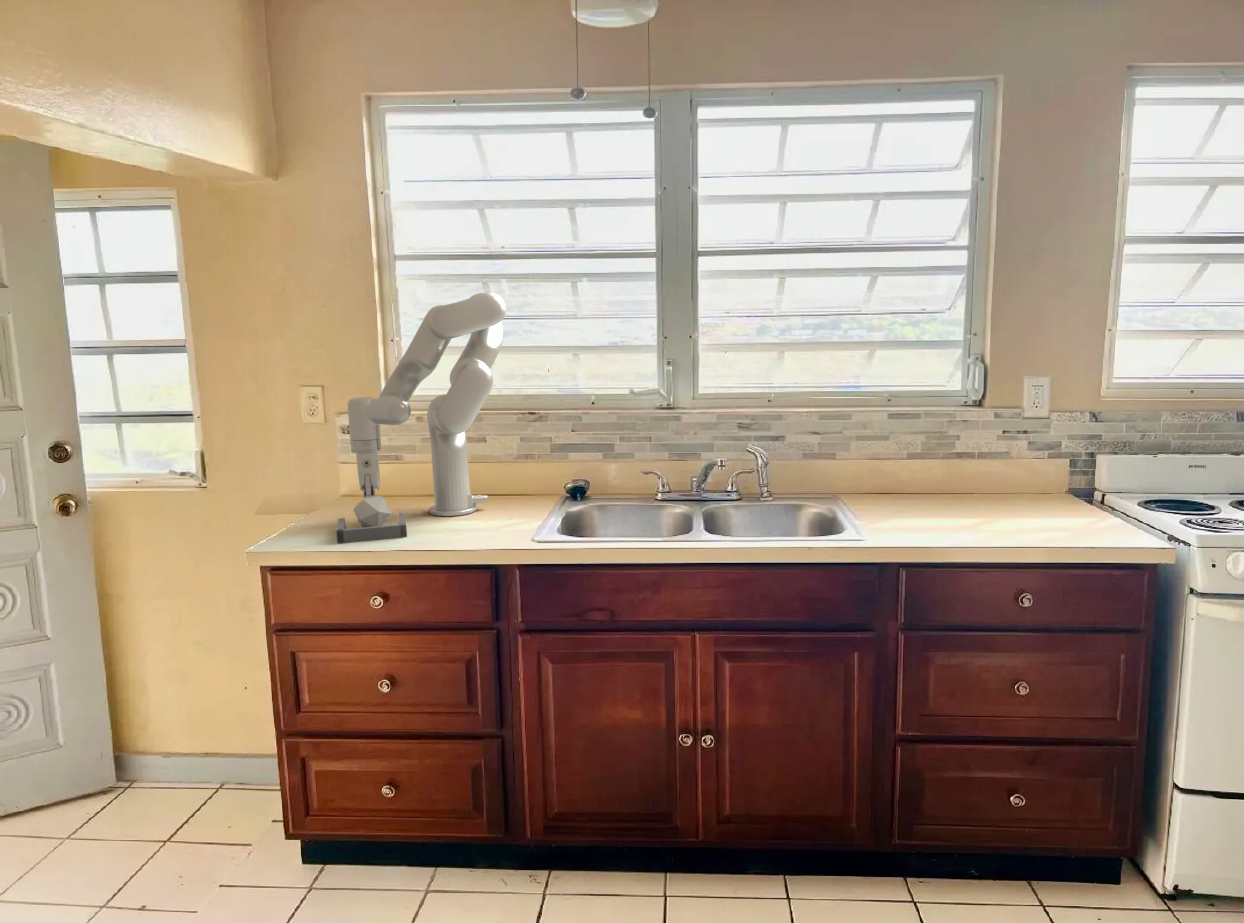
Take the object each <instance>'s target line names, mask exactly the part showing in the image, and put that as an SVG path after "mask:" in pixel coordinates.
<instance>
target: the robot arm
mask: <svg viewBox="0 0 1244 923" xmlns="http://www.w3.org/2000/svg"><path fill="white" fill-rule="evenodd" d="M506 313H507V306H506V303H505V301H504V299H503V298H502V297H501V296H500V295H499V294H497V293H493V292H478V293H475V294H473V295H472V296H470V297H469V298H466V299H463V300H460V301H456V302H452V303H448V304H443V305H442V304H441V305H435V306H433V307H431V308H430V309H429V310H428V311H427V313H426V315H425V316H424V318H423V319H422V321H421V323H420V326H419V327H418V329H417V330H416V333H415V335H414V336H413V338H412V341H411V342H410V344H409V346H408V347H407V350H406V351H405V352H404V354H403V356H402V357H401V359H400V360H399V363H398V364H397V365H396V367H395V369H394V370H393V371H392V373H391V374H390V377H389V378H388V379H387V381H386V384H385V385H384V387H383V388H382V390H381V392H380V394H379V396H378V398H375V397H371V396H359V397H353V398H350V399H349V400H348V401H347V417H348V427H349V443H350V453H353V454H355V456H356V470H357V477H358V482H359V484H358V485H359V489H360V491H361V492H363V499H364V498H365V497H366V496H371V495H372V496H376V489H377V491H379V490H380V489H381V479H380V477H381V474H380V462H379V455H378V454H379V453H378V452H381V451H382V441H381V425H385V426H399V425H403V424H405V423H406V422H407V421H408V420H409V418H410V417H411V414H412V410H411V408H412V407H411V406H410V400H411V398H412V396H413V394H414V393H415V392H416V390H417V388H418V387H419V386H420V384H421V383H422V382H423V381H424V380H425V379H426V378H428V377H429V376H430V375H431V374H432V373H433V372H434V371H435V370H436V367H437V366H438V364H439V362H440V361H441V358H442V357H443V355H444V353H445V351H446V349H447V347H449V344H450V342H451V340H452V339H454V338H459V337H462V336H466V335H470V337H469V339H468V340H467V343H466V345H465V347H464V349H463V351H462V352H461V354H460V355H459V357H458V359H457V361H456V362H455V364H454V366H453V368H452V369H451V371H450V374H449V383H450V388H449V389H448V391H447V392H446V393H445V394H440V395H438V396H436V397H435V398H433V399H432V400H431V401H430V403H429V404H428V408H427V413H426V414H427V415H426V416H427V424H428V430H429V432H428V433H429V439H430V450H431V464H432V468H431V470H432V480H433V483H432V484H433V498H434V505H431V506H430V507H429V513H430V514H431V515H433V516H438V517H455V516H463V515H468V514H471V513H474V512H476V510H477V508H478V506H477V504H479V503H482V504H483V503H488V502H489V499H488V498H489V496H488V494H487V495H483V494H478V495H477V494H476V495H475V494H473V493H472V492H471V488H470V486H471V485H470V471H469V470H470V469H469V456H468V454H469V451H468V439H467V432H466V431H467V430H468V429H470V427H471V425H472V424H473V423H474V421H475V420H476V417H477V416H478V414H479V413H480V410H481V409H482V407H483V405H484V403H485V401H486V400H487V398H488V396H489V395H490V393H491V390H492V388H493V383H494V376H493V372H492V371H491V370H492V367H493V366H494V363H495V361H496V359H497V357H498V355H499V352H500V351H501V349H502V345H503V342H504V340H503V339H504V329H503V328H504V327H503V323H502V321H503V320H504V318H505V316H506Z"/></svg>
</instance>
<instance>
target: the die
mask: <svg viewBox="0 0 1244 923" xmlns="http://www.w3.org/2000/svg"><path fill="white" fill-rule="evenodd" d="M352 510H353V512H354V514H355V516H356V518H357V520H358V522H359V524H360V526H361V528H362V527H372V526H383V525H384V522H386V521H387V520H388V519H389V517H391V516H392V512H391V510H390V508H389V506H388V504H387V501H386V500H385V498H384V496H382V495H375V496H372V495H371V496H366V497H365V498H364V497H363V498H362V500H361V501H359V502H358V503H357V505H356V506H354V507H353V509H352Z"/></svg>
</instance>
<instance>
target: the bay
mask: <svg viewBox="0 0 1244 923" xmlns="http://www.w3.org/2000/svg"><path fill="white" fill-rule="evenodd" d="M346 525H347V524H346V518H345V517H342V518H338V519H337V527H336V531H335V532H336V539H337V540H336V542H337V544H346V543H358V542H359V543H360V542H368V541H379V540H388V539H389V540H390V539H401V538H407V537H408V533H407V532H408V531H407V530H408V529H407V521H406V514H405V512H399V513H398V524H397V523H395V524H382V525H381V526H372V527H362V526H361V527H351V528H346Z"/></svg>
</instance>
